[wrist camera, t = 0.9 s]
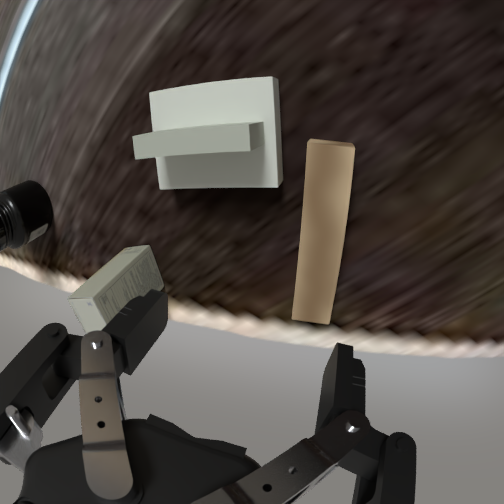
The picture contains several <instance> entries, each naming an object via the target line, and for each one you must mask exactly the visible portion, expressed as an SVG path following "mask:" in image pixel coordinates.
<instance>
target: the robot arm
mask: <svg viewBox="0 0 504 504" xmlns="http://www.w3.org/2000/svg"><path fill="white" fill-rule="evenodd" d="M167 321H168V295H167V294H166V293H164V292H161V291H158V290H155V289H151V290H150V291H149V292H148V293H147V294H146V295H145V296H144V297H143V296H140V295H139V296H137V297H135V298H133V299H131V300H130V301H129V302H128V303H127V304H126V305H125V306H124V308H122V309H121V310H120V311H119V313H117V314H116V315H115V316H114V317H113V318H112V320H111V321H110V322H109V323H108V324H107V325H106V326H105V327H104V328H103V329H102V330H101V331H100V330H95V331H91V332H88V333H87V334H85V335H84V336H78V335H72V334H68V332H67V329H66V327H65V326H64V325H62V324H60V323H51V324H48V325H46V326H44V327H43V328H42V329H41V330H40V331H39V332H38V333H37V334H36V335H35V336H34V337H33V339H31V341H30V342H29V343H28V344H27V345H26V346H25V347H24V348H23V349H22V350H21V351H20V352H19V353H18V355H16V357H15V358H14V359H13V360H12V361H11V362H10V363H9V364H8V365H7V367H6V368H5V369H4V370H3V371H2V372H1V373H0V460H1V461H2V462H4V463H5V464H9V465H13V466H15V467H16V468H18V469H19V470H20V471H21V472H23V473H24V480H23V486H22V490H21V493H20V495H19V498H18V499H17V500H16V501H15V502H14V503H13V504H293V503H294V502H296V501H297V500H298V499H300V498H301V497H302V496H303V495H305V494H306V493H307V492H308V491H309V490H310V489H312V488H313V487H314V486H315V485H317V484H318V483H319V482H320V481H322V480H323V479H324V478H325V477H326V476H328V475H329V474H330V473H331V472H332V471H333V470H335V469H336V468H337V467H338V466H340V467H342V468H344V469H346V470H348V471H350V472H352V473H354V474H357V478H356V483H355V489H354V494H353V500H352V504H414V501H415V484H416V444H415V441H414V440H413V438H412V437H410V436H409V435H408V434H406V433H403V432H396V433H393V434H391V435H390V436H388V435H386V434H384V433H381V432H379V431H377V430H375V429H374V428H373V427H371V425H370V422H369V420H368V418H367V417H366V416H365V367H364V365H363V363H362V361H361V360H360V359H355V358H353V346H350V345H345V344H341V343H336V345H335V347H334V350H333V352H332V354H331V356H330V359H329V361H328V363H327V365H326V368H325V371H324V375H323V380H322V388H321V395H320V402H319V409H318V416H317V422H316V429H315V435H313V436H312V437H311V438H309V439H307V438H305V439H303V440H301V441H300V442H298V443H297V444H295V445H294V446H292V447H291V448H289V449H288V450H287V451H285V452H284V453H282V454H281V455H279V456H278V457H276V458H274V459H273V460H271V461H270V462H268V463H267V464H265V465H264V466H262V467H261V466H260V465H259V464H258V463H257V462H256V461H255V460H253V459H252V458H250V457H249V456H247V455H245V452H246V449H247V448H244V447H241V446H237V445H234V444H231V443H227V442H224V441H219V440H210V439H201V438H195V437H193V436H191V435H190V434H188V433H186V432H185V431H184V430H182V429H181V428H179V427H178V426H176V425H175V424H173V423H171V422H168V421H166V420H164V419H161V418H159V417H157V416H154V415H152V414H150V415H149V417H148V419H147V420H146V419H127V418H126V414H125V409H124V403H123V397H122V392H121V385H120V379H119V377H120V375H121V374H122V373H123V372H124V373H126V374H128V375H131V374H132V373H133V372H134V370H135V369H136V368H137V366H138V365H139V363H140V362H141V361H142V359H143V358H144V356H145V355H146V354H147V352H148V351H149V350H150V348H151V347H152V346H153V344H154V342H156V340H157V339H158V337H159V336H160V335H161V333H162V332H163V331H164V329H165V327H166V324H167ZM76 380H79V397H80V414H81V425H82V435H79V436H76V437H73V438H70V439H67V440H63V441H60V442H57V443H53V444H50V445H46V446H43V447H41V441H42V438H43V433H42V430H41V428H42V427H43V425H44V424H45V422H46V421H47V420H48V418H49V416H50V415H51V414H52V412H53V411H54V410H55V408H56V407H57V405H58V404H59V403H60V401H61V400H62V398H63V397H64V396H65V394H66V393H67V392H68V390H69V389H70V387H71V386H72V384H73V383H74V382H75V381H76Z"/></svg>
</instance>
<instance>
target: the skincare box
mask: <svg viewBox="0 0 504 504" xmlns="http://www.w3.org/2000/svg"><path fill="white" fill-rule="evenodd" d="M163 287H164V283H163V281H162V278H161V275H160V272H159V269H158V266H157V264H156V261H155V258H154V255H153V253H152V250H151V247H150V245H144V246H136V247H129V248H125V249H123V250H122V251H121V252H120V253H119V254H117V255H116V256H115V257H114V258H113V259H112V260H110V261H109V262H108V263H107V264H106V265H104V266H103V267H102V268H101V269H100V270H99V271H97V272H96V273H95V274H94V275H93V276H92V277H90V278H89V279H88V280H87V281H86V282H85V283H84V284H83V285H82V286H80V287H79V288H78V289H77V290H76V291H75V292H74V293H73V294H72V295H71V296H70V297H69V298H68V301H69V303H70V305H71V307H72V309H73V311H74V313H75V315H76V317H77V319H78V321H79V323H80V325H81V326H82V328H83V330H84V332H85V334H87V333H88V332H91V331H95V330H100V331H101V330H102V329H103V328H104V327H105V326H106V325H107V324H108V323H109V322H110V321H111V320H112V318H113V317H114V316H115V315H116V314H117V313H119V311H120V310H121V309H122V308H124V306H125V305H126V304H127V303H128V302H129V301H130V300H131V299H133V298H135V297H137V296H139V295H140V296H143V297H144V296H145V295H146V294H147V293H148V292H149V291H150V290H151V289H155V290H158V291H161V289H162V288H163Z"/></svg>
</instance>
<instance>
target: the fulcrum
mask: <svg viewBox="0 0 504 504" xmlns="http://www.w3.org/2000/svg"><path fill="white" fill-rule="evenodd" d="M149 95H150V107H151V118H152V128H153V132H151V133H146V134H141V135H137V136H133V145H134V153H135V159H143V158H152V157H156V163H157V171H158V179H159V186H160V189H185V188H247V187H253V188H278V187H279V185H280V184H281V183H282V181H283V167H282V143H281V121H280V102H279V85H278V79H276V78H274V77H258V78H246V79H235V80H226V81H217V82H209V83H202V84H195V85H189V86H182V87H177V88H171V89H165V90H160V91H155V92H150V93H149Z"/></svg>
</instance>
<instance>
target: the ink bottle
mask: <svg viewBox="0 0 504 504" xmlns="http://www.w3.org/2000/svg"><path fill="white" fill-rule="evenodd" d="M51 221H52V211H51V205H50V201H49V198H48V196H47V193H46V192H45V190H44V189H43V187H42V186H41V185H40V184H38V183H37V182H35V181H31V180H29V181H25V182H23V183H20V184H18V185H15V186H13V187H11V188H8V189H6V190H4V191H2V192H0V252H1V251H2V250H3V249H5V248H7V246H8V247H10V248H13V249H17V248H20V247H22V246H24V245H25V244H27V243H29V242H30V241H32V240H34V239H35V238H37V237H39V236H40V235H42V234H44V233H45V232H47V231H48V230H49V228H50V226H51Z"/></svg>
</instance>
